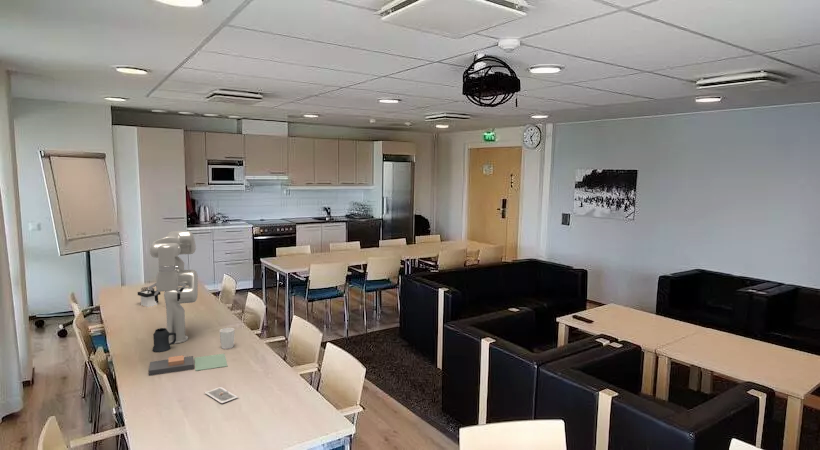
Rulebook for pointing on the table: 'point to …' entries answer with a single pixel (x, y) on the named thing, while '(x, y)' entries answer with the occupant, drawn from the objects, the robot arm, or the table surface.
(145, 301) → the black-topped pedestal
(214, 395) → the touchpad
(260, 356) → the table surface
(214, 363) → the mat
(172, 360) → the terracotta tile
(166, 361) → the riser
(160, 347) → the mug
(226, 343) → the white cup
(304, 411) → the table surface
